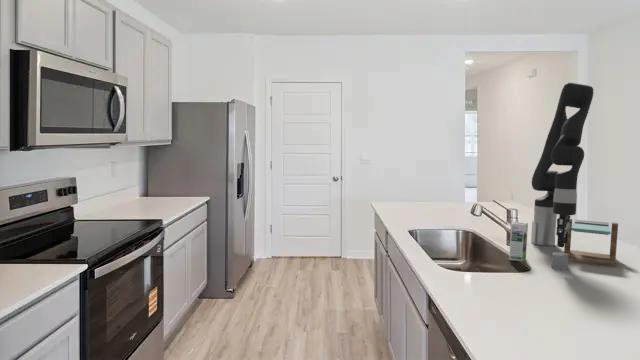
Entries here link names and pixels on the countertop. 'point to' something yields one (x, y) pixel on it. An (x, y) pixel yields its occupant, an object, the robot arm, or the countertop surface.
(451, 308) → the countertop surface
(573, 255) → the frame
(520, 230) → the syrup box
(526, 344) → the countertop surface
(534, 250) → the countertop surface
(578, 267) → the countertop surface
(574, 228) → the trapdoor
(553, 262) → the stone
